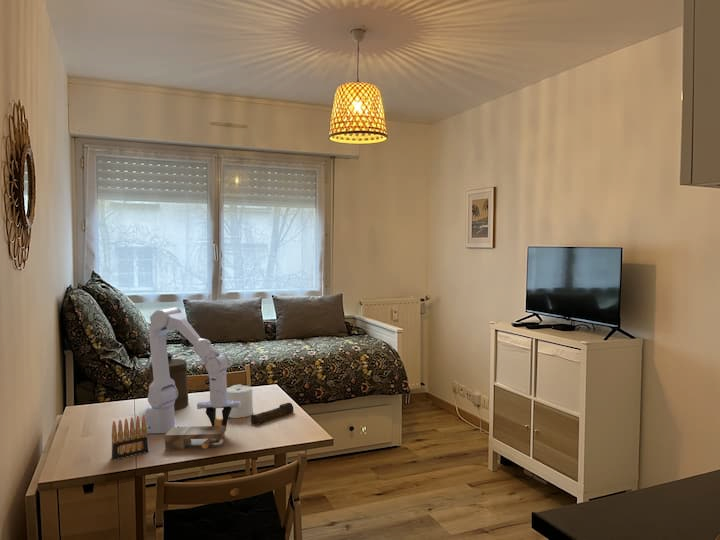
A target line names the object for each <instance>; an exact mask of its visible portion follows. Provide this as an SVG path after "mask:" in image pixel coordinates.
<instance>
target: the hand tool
mask: <svg viewBox="0 0 720 540" xmlns="http://www.w3.org/2000/svg"><path fill="white" fill-rule="evenodd" d="M293 413H294V406H293V404H292V402H286V403H282V404H280V405H279V407H276V408H273V409H270V410H267V411H262V412H260V413H257V414H252V415H250V423H251V425H253V424H254V426H257V425H261V423H264V422H267V421H270V420H273V419H276V418H280V417H282V416H283V418H284V416H285V417H288V416H289V414H290V415H292V414H293Z"/></svg>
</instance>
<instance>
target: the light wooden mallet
mask: <svg viewBox="0 0 720 540" xmlns="http://www.w3.org/2000/svg"><path fill="white" fill-rule="evenodd" d="M214 426H223V416H217V417H216V418H215V419H214ZM225 435H226V432H225V433H224V434H223V436H225ZM211 440H212V439H205V441H204V442H202V443H201V449H208V447H211Z"/></svg>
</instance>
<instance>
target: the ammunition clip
mask: <svg viewBox="0 0 720 540" xmlns="http://www.w3.org/2000/svg"><path fill="white" fill-rule="evenodd" d="M129 421H130V422H129ZM129 421H128V419H127V418H125V419H124V425H123V423H122V420H121V419H119V420H118V426H117V424H116V422H115V420H113V421H112V426H111V427H112V428H111V459H112V460H113V461H114V459H115V460H118V458H119V459H123V458H122V457H124V458H128V457H132V456H131V455H133V456H136V455H135V454H137V455H140V454H139V453H142V454H145V453H144V452H146V453H149V443H148V434H147V428H146V418H145V415H144V414H142V417H141V420H140V418H139V416H136V418H135V420H134V418H133V417H130V420H129ZM140 421H141V422H140ZM123 426H124V429H123ZM117 427H118V428H117ZM117 429H118V430H117ZM127 456H128V457H127Z"/></svg>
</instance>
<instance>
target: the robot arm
mask: <svg viewBox="0 0 720 540" xmlns="http://www.w3.org/2000/svg"><path fill="white" fill-rule="evenodd" d="M149 320H150V325H149V328H148V336H149V339H148V340H149V348H150V357H151V363H152V368H153V378H154V380H153V382H152V383H151V385H150V384H149V386H148V394H147V402H148V404H149V405H148V406H147V407H146V409H145V415H144V417H145V421H146V428H147V435H149V434H166V433H167V432H168V431H169V430H170V429H171V428H172V427H180V425H179V424H176V421H175V410H174V403H175V400H176V398H177V397H178V390H177V388H176V386H175V381H174V380H173V379H171V378H170V373H169V364H168V354H167V353H168V348H167V347H168V346H167V338H166V337H167V336H166V335H167V333H168V332H169V331H170V330H175V331H178V332H179V333H180V334H181V335H182V336H184V337H185V339H187V341H189V342H190V343H191V344H192V350H193V352H194V353H195V354H196V355H197V356H198V357H199V358H200V359H201V360H202V362H204V364H205V365H204V367H205V370H206V372H207V373H208V379H209V399H210V400H208V401H199V402H197V403H196V409H197V410H202V409H205V414H206V416H207V418H208V419H209V421H210V424H211V426H214V419H215V418H217V417H216V415H217V409H222V410H221V414H222V417H223V426H226V429H227V426H228V425H227V424H228V420H229V414H230V412H231V409H232V408H240V406H241V405H240V401H229V400H227V388H228V384H227V383H228V382H227V369H228V368H229V366H230V359H229V357H228V356H227V354H226V353H222V352H220V351H219V350H218V349H217V348H215V346H213V344H212V342H211V341H210V339H206V338H201V336H200V335H199V334H198V333H197V331H196V330H195V328H194V327H193V326H192V325H191V324H190V323H189V321H188V320H187V318H186V314H185V313H184V312H182V310H181V309H180V308H179V307H176V306H172V307H170V308H165V309H157V310H155V311H154V312H152V314H151V315H150V316H149Z"/></svg>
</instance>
